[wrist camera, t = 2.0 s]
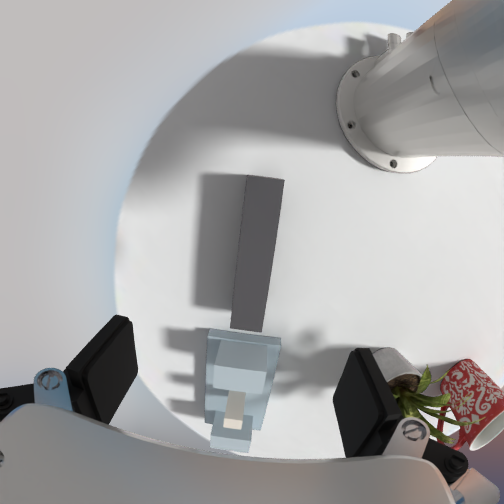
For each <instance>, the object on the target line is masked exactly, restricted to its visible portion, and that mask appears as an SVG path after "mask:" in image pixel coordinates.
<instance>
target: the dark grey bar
mask: <svg viewBox="0 0 504 504" xmlns="http://www.w3.org/2000/svg"><path fill="white" fill-rule="evenodd" d="M283 188H284V180H283V179H278V178H271V177H263V176H255V175H247V181H246V189H245V197H244V206H243V214H242V223H241V231H240V240H239V249H238V258H237V267H236V276H235V285H234V295H233V304H232V314H231V323H230V328H232V329H239V330H247V331H254V332H262V326H263V320H264V314H265V308H266V302H267V296H268V290H269V283H270V277H271V270H272V264H273V257H274V251H275V244H276V237H277V230H278V223H279V216H280V209H281V202H282V195H283Z"/></svg>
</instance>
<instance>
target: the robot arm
mask: <svg viewBox="0 0 504 504" xmlns="http://www.w3.org/2000/svg"><path fill="white" fill-rule="evenodd" d="M388 46H389V49H388V50H387V51H386V52H385V53H384V54H382V55H381V56H374V57H368V58H365V59H363V60H360V61H358V62H357V63H355V64H354V65H353V66H352V67H350V68H349V70H348V71H347V72H346V73H345V75H344V76H343V78H342V80H341V81H340V84H339V87H338V90H337V99H336V106H337V115H338V118H339V122H340V125H341V127H342V130H343V132H344V134H345V136H346V138H347V139H348V141H349V142H350V144H351V145H352V146H353V148H354V149H355V150H356V151H357V152H358V153H359V154H360V155H361V156H362V157H363V158H364V159H366V160H367V161H368V162H369V163H371V164H373V165H374V166H376V167H378V168H380V169H383V170H386V171H389V172H394V173H413V172H417V171H420V170H422V169H424V168H426V167H427V166H429V165H430V164H431V163H432V162H433V161H434V160H435V159H436V158H437V156H492V157H504V0H452V1H451V2H450V3H448V4H447V5H446V6H445V7H443V8H442V9H441V10H440V11H439V12H437V13H436V14H435V15H434V16H432V17H431V18H430V19H429V20H427V21H426V22H425V23H424V24H423V25H421V26H420V27H419V28H418V29H417V30H416V31H414V32H409V33H407V34H406V39H405V40H404V41H403V42H402V43H401V37H400V36H399V35H397V34H394V33H390V34H388ZM352 75H354V76H355V77H353V76H352ZM348 124H350V125H351V128H349V127H348ZM390 162H391V163H392V165H391V166H390ZM137 373H138V365H137V358H136V350H135V342H134V333H133V324H132V322H131V321H129V318H128V317H125V316H120V315H115V316H113V317H112V319H111V320H110V321H109V322H108V323H107V324H106V325H105V326H104V327H103V328H102V329H101V330H100V331H99V332H98V333H97V334H96V335H95V336H94V337H93V339H92V340H91V341H90V342H89V343H88V344H87V345H86V346H85V347H84V348H83V349H82V350H81V351H80V353H79V354H78V355H77V356H76V357H75V358H74V359H73V360H72V361H71V363H70V364H69V365H68V366H67V367H66V369H65V370H64V371H63V372H62V371H61V370H59V369H56V368H46V369H43V370H41V371H40V372H38V373H37V374H36V376H35V377H34V383H33V384H27V385H21V386H15V387H8V388H1V389H0V504H497V503H498V501H499V498H500V492H499V489H498V488H497V487H496V486H495V485H494V484H493V483H491V482H490V481H489V480H487V479H486V478H485V477H484V476H482V475H481V474H480V473H478V472H477V471H476V470H475V469H473V468H471V469H470V470H469V469H468V460H467V458H466V457H465V455H464V454H463V453H461V452H459V451H457V450H455V449H452V448H450V447H448V446H445V445H443V444H441V443H439V442H437V441H435V440H432V439H430V438H429V437H430V430H429V427H428V426H427V424H426V423H425V422H424V421H422V420H420V419H418V418H415V417H408V418H404V417H403V415H402V413H401V410H400V408H399V406H398V404H397V402H396V400H395V398H394V396H393V394H392V392H391V390H390V387H389V385H388V383H387V381H386V380H385V378H384V376H383V374H382V372H381V370H380V368H379V366H378V364H377V362H376V360H375V358H374V356H373V354H372V352H371V351H370V349H369V348H356V349H355V350H354V351H351V353H350V355H349V358H348V360H347V363H346V366H345V368H344V371H343V373H342V376H341V378H340V381H339V383H338V386H337V388H336V391H335V393H334V396H333V404H334V408H335V413H336V417H337V421H338V425H339V429H340V434H341V438H342V443H343V447H344V452H345V456H346V458H334V459H276V458H261V457H249V456H239V455H231V454H223V453H217V452H211V451H205V450H199V449H194V448H189V447H185V446H180V445H175V444H171V443H167V442H163V441H159V440H155V439H152V438H148V437H145V436H141V435H138V434H135V433H132V432H128V431H125V430H122V429H119V428H116V427H113V426H110V425H109V423H110V421H111V419H112V418H113V416H114V414H115V412H116V410H117V409H118V407H119V405H120V403H121V402H122V400H123V398H124V396H125V395H126V393H127V391H128V390H129V388H130V386H131V384H132V383H133V381H134V379H135V378H136V376H137Z"/></svg>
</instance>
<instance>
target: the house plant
mask: <svg viewBox="0 0 504 504" xmlns="http://www.w3.org/2000/svg"><path fill="white" fill-rule="evenodd" d="M373 356H374V358H375V360H376V362H377V364H378V366H379V368H380V370H381V372H382V374H383V376H384V378H385V380H386V381H387V383H388V385H389V387H390V390H391V392H392V394H393V396H394V398H395V400H396V402H397V404H398V406H399V408H400V410H401V413H402V415H403V417H404V418H408V417H415V418H418V419H420V420H422V421H424V422H425V423H426V424H427V426H428V427H429V430H430V435H432V436H434V437H436V438H438V439H439V440H440V441H442V442H445V443H454V442H451V441H449V440H455V439H453V438H450V437H449V436H446V435H444V434H443V433H442V432H441V431H440V430H438V429H436V428H434V426H432V425H431V424H430V423H429V422H428V421H427V420H426V419H425V418H424V417H423V416H422V415H421V414H420V412H419V411H418V409H420V410H421V411H423V412H425V413H427V414H429V415H431V416H433V417H436V418H438V419H441V420H443V421H445V422H448V423H451V424H454V425H459V426H466V425H470V424H473V423H476V422H478V421H480V420H482V419H483V418H482V419H480V420H477V421H473V422H459V421H455V420H453V419H450V418H447V417H444V416H441V415H438V414H436V413H446V412H449V411H451V410H449V411H439V410H433V409H429V408H426V407H423V406H430V407H443V406H449V405H453V404H447V402H448V401H449V399H450V396H451V395H450V393H447V394H444V395H440V396H437V397H429V396H425V395H422V394H420V393H422V392H423V391H424V390H426V388H427V387H428V385H429V384H431V383H435V382H438V381H440V380H442V379H443V378H444V377H445V376H446V374H447V373H448V371H449V370H450V369H449V370H448V371H447V372H446V373H445V374H444V375H443V376H442V377H441V378H439V379H438V380H436V381H434V382H431V383H430V381H431V374H430V371H429V368H428V365H427V368H426V370H425V372H424V373H423V375H422V374H421V373H420V372H419V371H418V370H417V369H416V368H415V367H414V366H413V365H412V364H411V363H410V362H409V361H408V360H406V359H405V358H404V357H403V356H402V355H401V354H400V353H399V352H398V351H397V350H396V349H394V348H383V349H380V350H378V351H376V352H375V353H373ZM468 394H469V393H468ZM468 394H467V395H468ZM472 394H473V393H472ZM472 394H471V395H472ZM467 395H466V396H467ZM471 395H470V396H469V397H468V398H467V399H466V400H465V401H464V402H463V403H462V404H461V405H459V406H458V407H460V406H462V405H463V404H464V403H465V402H466V401H467V400H468V399H469V398H470V397H471ZM466 396H465V397H466ZM465 397H464V398H465ZM464 398H463V399H464ZM463 399H462V400H463ZM462 400H460V401H462ZM460 401H459V402H460ZM457 403H458V402H457ZM455 404H456V403H455ZM458 407H456V408H455V409H457V408H458ZM417 408H418V409H417ZM453 410H454V409H453ZM484 418H485V417H484Z"/></svg>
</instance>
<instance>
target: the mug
mask: <svg viewBox="0 0 504 504" xmlns="http://www.w3.org/2000/svg"><path fill="white" fill-rule="evenodd" d="M440 390H441V392H442V394H443V395H444V394H447V393H450V395H451V396H450V399H449V401H448V402H447V404H453V405H449V406H443V407H441V410H440V411H447V409H448V408H449V407H450V408H451V410H452V412H453V414H454V416H455V418H456V420H457V421H459V422H473V421H477V420H480V419H482V418H483V419H482V420H480V421H478V422H476V423H473V424H470V425H466V426H460V430H459V435H460V436H459V440H458V442H457V444H456V445H455V446H453V447H450V448H452V449H455V450H458V449H460V448H461V446H463V444H464V443H465V442H466V441H467V442H468V444H469V449H470V450H476V449H479V448H481V447H483V446H484V445H486V444H487V443H488V442H490V441H491V440H492V439H494V438H495V437H496V436H497V435H498V434H499V433H500V432H501V431H502V430H503V429H504V392H503V391H502V390H501V389H500V388H499V386H497V385H496V384H495V383H494V382H493V380H492V379H491V378H490V377H489V376H488V375H487V374H486V373H485V372H484V371H483V370H481V369H480V367H479V366H478V365H477V364H476V363H475V362H473V361H472V360H471V359H465V360H463V361H461V362H459V363H457V364H456V365H455V366H454V367H452V368H451V369H450V371H449V372H448V373H447V374H446V376H445V377H444V379H443V380H442V383H441V386H440ZM468 393H469V394H468ZM472 393H473V394H472ZM467 394H468V395H467ZM471 394H472V395H471ZM466 395H467V396H466ZM470 395H471V397H470V398H469V399H468V400H467V401H466V402H465V403H464V404H463V405H462V406H460V407H458V406H459V405H461V404H462V403H463V402H464V401H465V400H466V399H467V398H468V397H469V396H470ZM465 396H466V397H465ZM464 397H465V398H464ZM463 398H464V399H463ZM462 399H463V400H462ZM460 400H462V401H460ZM459 401H460V402H459ZM457 402H458V403H457ZM455 403H456V404H455ZM456 407H458V408H457V409H455V408H456ZM453 409H454V410H453ZM439 415H441V416H444V417H445V415H446V413H440V414H439ZM484 417H485V418H484ZM443 424H444V421H443V420H441V419H438V425H437V429H438V430H440V431H441V432H443ZM437 442H439V443H441V444H443V445H445V444H444V442H442V441H440V440H439V439H438V438H437ZM445 446H446V445H445Z"/></svg>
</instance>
